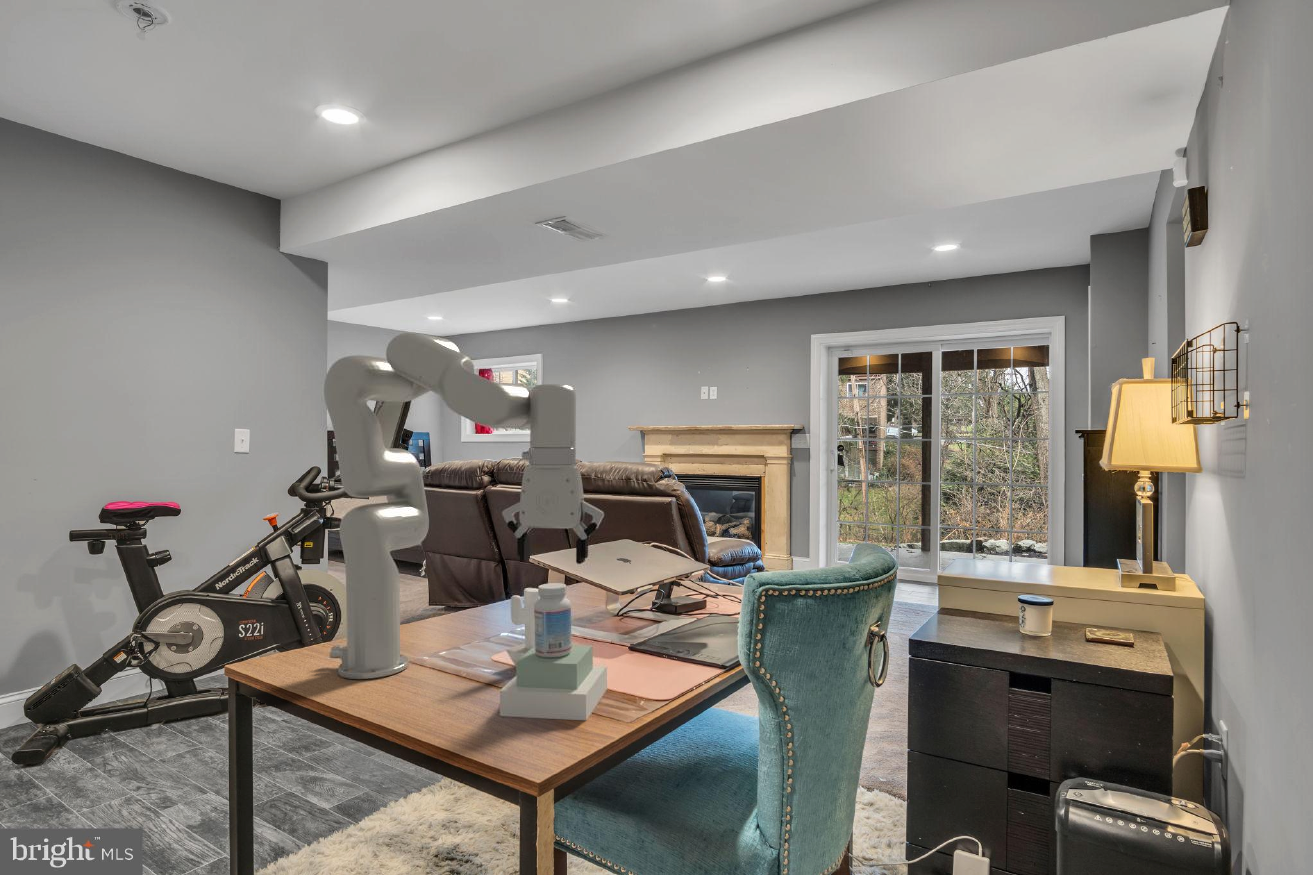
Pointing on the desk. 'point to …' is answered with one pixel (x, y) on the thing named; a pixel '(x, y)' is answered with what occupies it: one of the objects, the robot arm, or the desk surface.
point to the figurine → (523, 621)
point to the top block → (555, 669)
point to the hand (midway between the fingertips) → (552, 561)
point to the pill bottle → (552, 621)
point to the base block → (554, 699)
